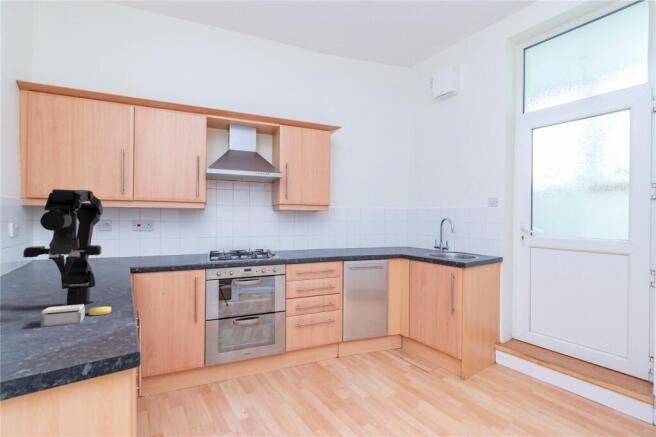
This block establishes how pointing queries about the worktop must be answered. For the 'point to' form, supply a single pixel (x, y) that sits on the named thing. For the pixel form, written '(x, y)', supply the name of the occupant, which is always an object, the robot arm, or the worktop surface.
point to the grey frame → (62, 318)
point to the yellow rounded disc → (99, 310)
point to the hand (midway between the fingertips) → (64, 278)
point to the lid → (63, 308)
